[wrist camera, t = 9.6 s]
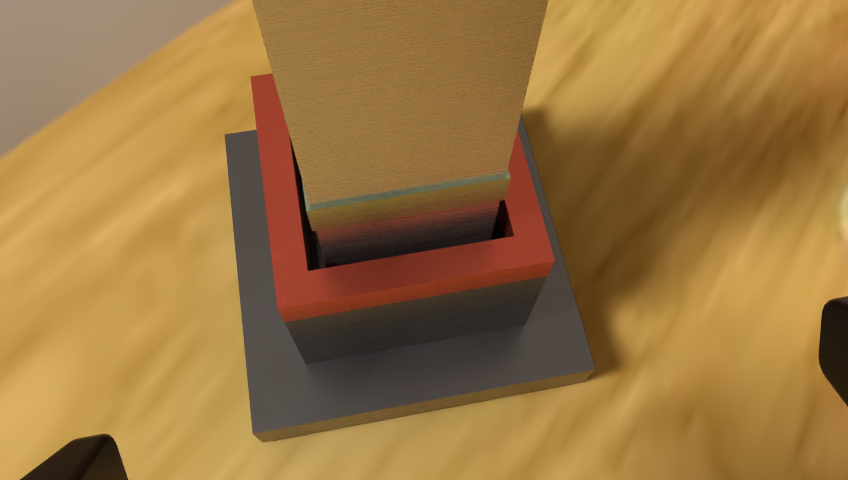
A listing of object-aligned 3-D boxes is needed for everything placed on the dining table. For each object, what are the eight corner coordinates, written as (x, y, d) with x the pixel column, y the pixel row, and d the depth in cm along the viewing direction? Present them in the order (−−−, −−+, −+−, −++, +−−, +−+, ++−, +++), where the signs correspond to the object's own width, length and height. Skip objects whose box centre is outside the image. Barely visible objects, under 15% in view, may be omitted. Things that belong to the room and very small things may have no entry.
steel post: (492, 251, 19) (600, -174, 8) (326, 279, 19) (208, -128, 8) (457, 112, 21) (509, -390, 10) (305, 136, 21) (184, -361, 10)
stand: (584, 381, 23) (645, 315, 17) (262, 442, 22) (207, 394, 16) (509, 115, 27) (537, -14, 21) (234, 157, 26) (182, 35, 20)
